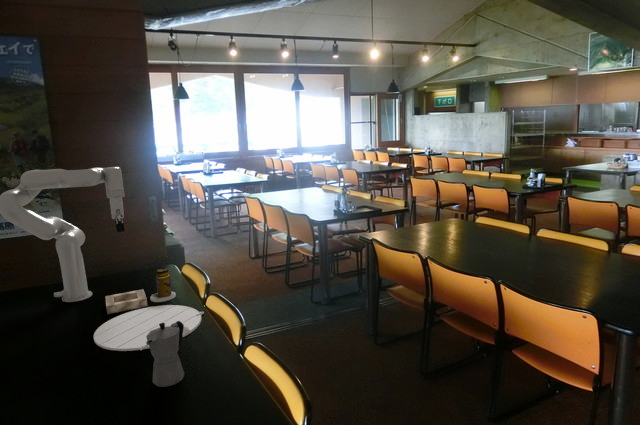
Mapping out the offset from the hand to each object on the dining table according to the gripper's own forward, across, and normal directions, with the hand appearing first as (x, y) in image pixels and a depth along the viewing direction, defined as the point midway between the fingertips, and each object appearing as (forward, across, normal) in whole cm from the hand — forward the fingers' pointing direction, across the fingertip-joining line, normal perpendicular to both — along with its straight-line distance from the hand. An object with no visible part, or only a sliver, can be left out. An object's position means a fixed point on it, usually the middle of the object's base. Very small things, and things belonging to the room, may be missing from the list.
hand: (120, 229), depth 212 cm
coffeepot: (+31, +93, +6) cm, 98 cm away
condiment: (+30, +19, +14) cm, 37 cm away
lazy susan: (+31, +50, +5) cm, 59 cm away
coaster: (+30, +19, +14) cm, 38 cm away
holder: (+30, +19, -2) cm, 36 cm away
